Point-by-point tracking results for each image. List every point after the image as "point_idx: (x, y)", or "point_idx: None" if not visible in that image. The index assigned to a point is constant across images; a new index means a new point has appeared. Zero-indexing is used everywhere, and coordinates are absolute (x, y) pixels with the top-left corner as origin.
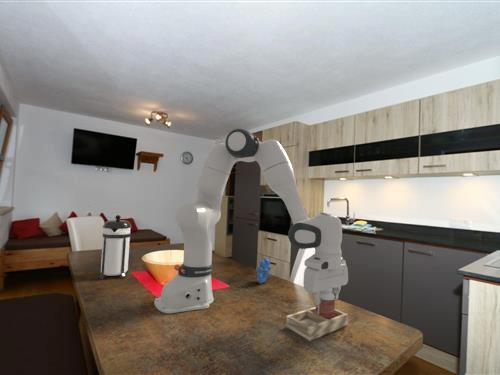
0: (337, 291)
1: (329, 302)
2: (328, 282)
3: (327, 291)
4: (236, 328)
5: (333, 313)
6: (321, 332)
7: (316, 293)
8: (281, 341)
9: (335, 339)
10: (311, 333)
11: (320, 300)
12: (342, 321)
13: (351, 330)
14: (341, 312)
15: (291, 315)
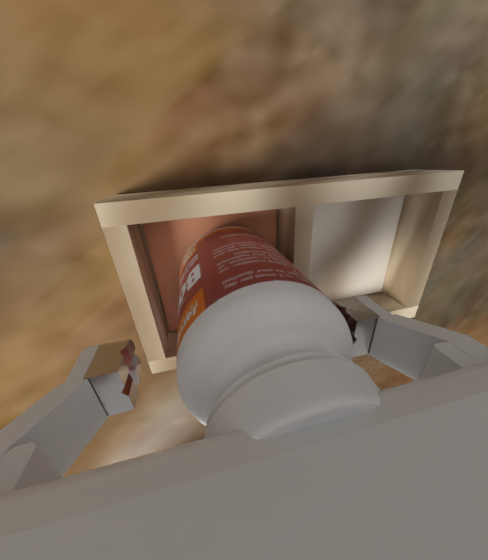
0: (64, 413)
1: (296, 274)
2: (483, 554)
3: (353, 367)
4: (474, 330)
5: (221, 241)
6: (354, 175)
7: (483, 350)
8: (471, 221)
9: (316, 110)
10: (431, 170)
11: (360, 312)
12: (170, 192)
13: (146, 130)
14: (123, 249)
15: (398, 313)
